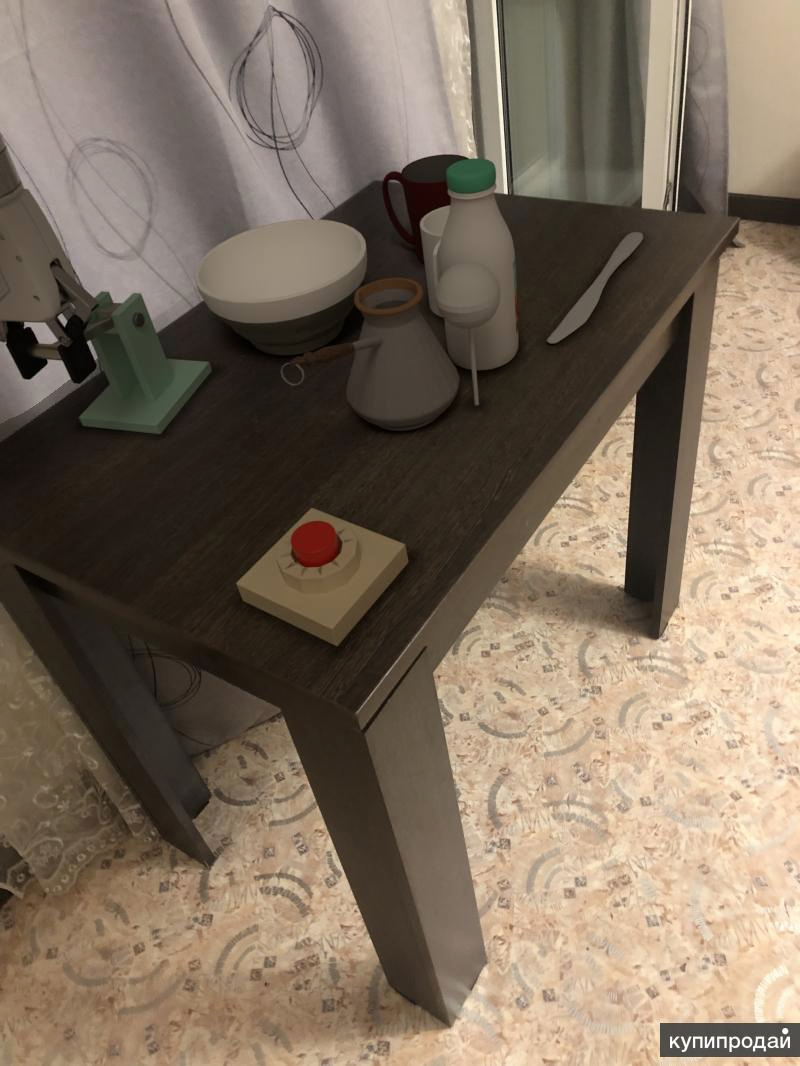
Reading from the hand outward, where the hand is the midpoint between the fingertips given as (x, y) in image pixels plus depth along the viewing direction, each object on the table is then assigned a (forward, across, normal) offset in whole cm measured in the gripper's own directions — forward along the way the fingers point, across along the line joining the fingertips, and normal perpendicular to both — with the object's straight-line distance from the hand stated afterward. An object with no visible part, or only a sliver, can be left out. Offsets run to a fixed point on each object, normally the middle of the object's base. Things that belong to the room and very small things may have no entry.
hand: (60, 372), depth 78 cm
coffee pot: (+10, +29, +7) cm, 32 cm away
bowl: (+10, +12, +25) cm, 30 cm away
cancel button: (+7, +31, -12) cm, 34 cm away
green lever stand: (+10, 0, +10) cm, 14 cm away
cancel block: (+10, +31, -12) cm, 34 cm away
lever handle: (0, 0, +5) cm, 5 cm away
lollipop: (+10, +37, +14) cm, 41 cm away
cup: (+10, +30, +32) cm, 45 cm away
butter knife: (+9, +46, +38) cm, 60 cm away
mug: (+9, +23, +46) cm, 52 cm away
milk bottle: (+10, +35, +23) cm, 43 cm away
